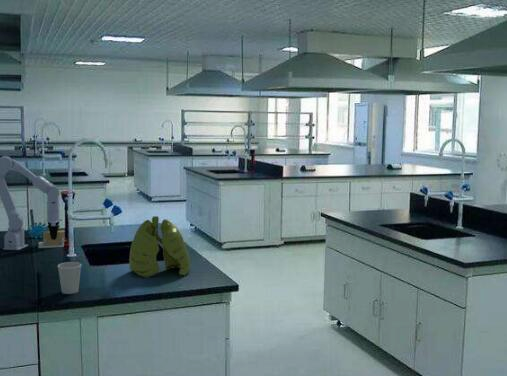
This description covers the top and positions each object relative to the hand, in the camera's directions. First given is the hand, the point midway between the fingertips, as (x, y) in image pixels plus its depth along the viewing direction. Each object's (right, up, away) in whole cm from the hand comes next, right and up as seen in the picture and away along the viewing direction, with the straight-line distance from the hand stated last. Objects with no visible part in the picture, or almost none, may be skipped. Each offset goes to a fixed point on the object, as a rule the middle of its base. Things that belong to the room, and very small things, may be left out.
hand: (53, 237), depth 273 cm
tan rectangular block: (0, -3, 0) cm, 3 cm away
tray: (0, -4, +1) cm, 4 cm away
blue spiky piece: (-14, -2, +17) cm, 22 cm away
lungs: (+60, -11, -43) cm, 75 cm away
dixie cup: (+32, -13, -71) cm, 79 cm away
